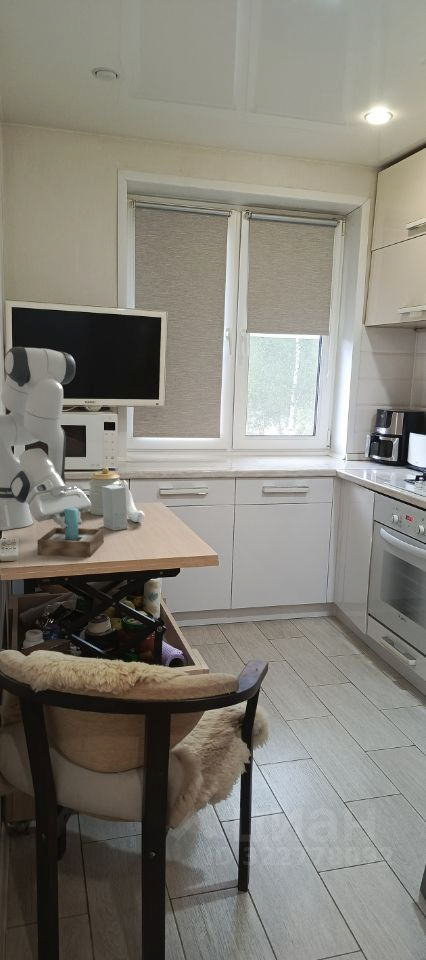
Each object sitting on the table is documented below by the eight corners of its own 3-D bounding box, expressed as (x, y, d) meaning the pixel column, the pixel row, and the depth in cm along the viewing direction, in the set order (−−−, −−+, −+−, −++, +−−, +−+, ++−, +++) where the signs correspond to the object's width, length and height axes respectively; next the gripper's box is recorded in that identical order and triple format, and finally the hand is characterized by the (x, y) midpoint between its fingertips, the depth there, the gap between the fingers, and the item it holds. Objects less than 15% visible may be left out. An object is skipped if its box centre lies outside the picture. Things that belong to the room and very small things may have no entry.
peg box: (37, 554, 192) (37, 540, 192) (55, 541, 208) (54, 527, 207) (90, 556, 191) (90, 542, 191) (103, 542, 207) (103, 529, 206)
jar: (85, 510, 254) (84, 465, 251) (117, 507, 259) (117, 464, 256) (93, 517, 243) (92, 470, 240) (126, 514, 248) (126, 469, 245)
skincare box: (127, 529, 225) (127, 487, 222) (111, 531, 222) (111, 488, 219) (117, 524, 232) (116, 483, 229) (101, 526, 229) (101, 485, 226)
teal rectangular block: (63, 545, 198) (62, 510, 196) (67, 542, 202) (66, 507, 200) (76, 546, 197) (75, 511, 196) (80, 542, 201) (79, 508, 200)
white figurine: (138, 528, 227) (137, 487, 224) (118, 517, 243) (118, 478, 241) (150, 526, 229) (150, 486, 227) (130, 515, 246) (130, 477, 243)
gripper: (74, 492, 212) (94, 525, 208) (20, 501, 197) (41, 537, 192) (82, 480, 209) (103, 514, 204) (28, 488, 193) (49, 525, 189)
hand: (72, 525), depth 198 cm, fingers closed on teal rectangular block, 4 cm apart
